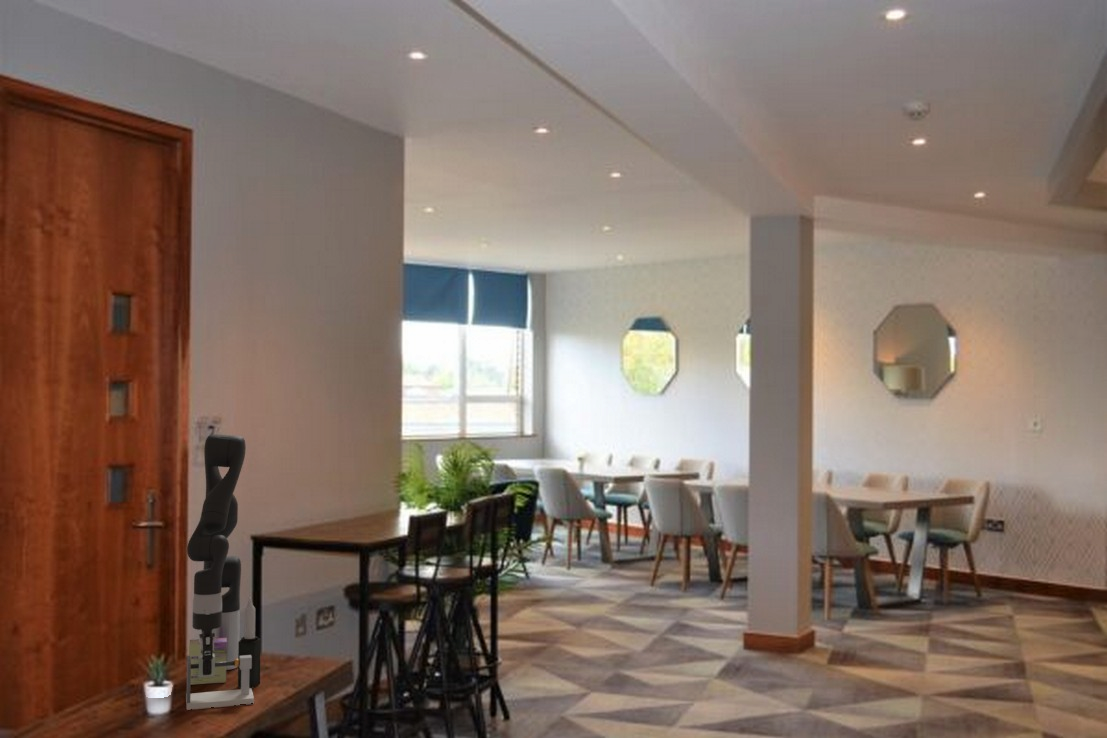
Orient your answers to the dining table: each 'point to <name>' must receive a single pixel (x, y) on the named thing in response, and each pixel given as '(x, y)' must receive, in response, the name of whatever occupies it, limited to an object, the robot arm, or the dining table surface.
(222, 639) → the box
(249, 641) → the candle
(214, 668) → the sleeve
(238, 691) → the cord rack
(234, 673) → the dining table surface
